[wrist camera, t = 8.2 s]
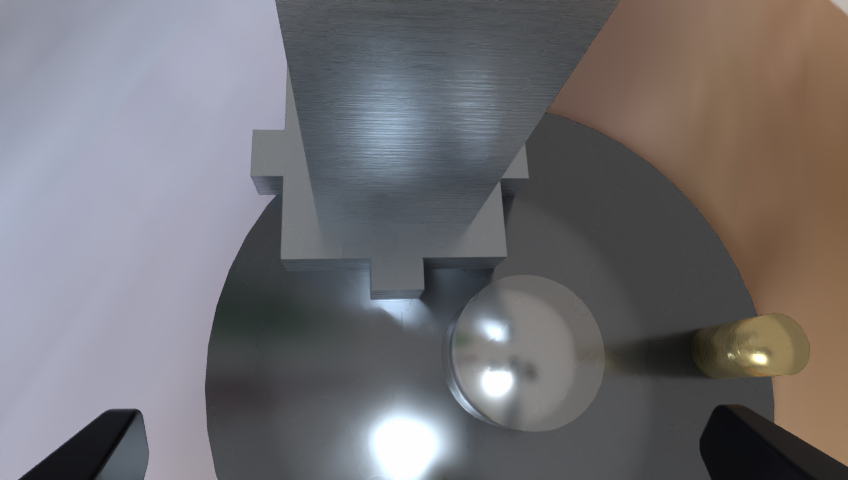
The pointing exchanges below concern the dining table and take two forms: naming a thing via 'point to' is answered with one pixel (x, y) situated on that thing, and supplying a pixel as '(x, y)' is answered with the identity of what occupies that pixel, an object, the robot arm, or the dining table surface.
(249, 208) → the dining table surface
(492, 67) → the square pipe section
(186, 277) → the dining table surface
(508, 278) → the disc
